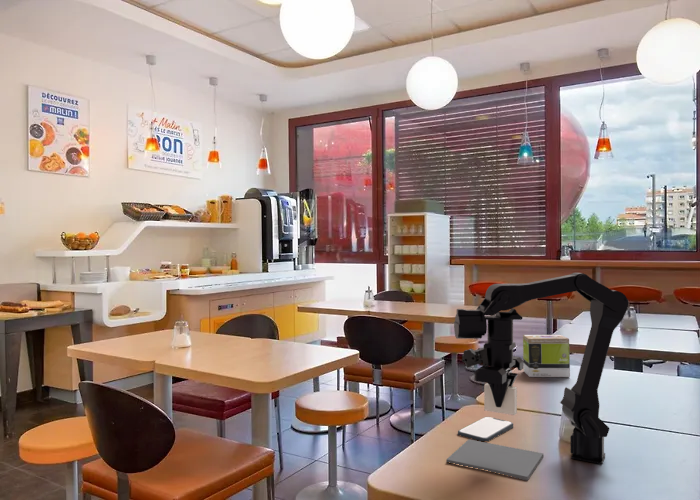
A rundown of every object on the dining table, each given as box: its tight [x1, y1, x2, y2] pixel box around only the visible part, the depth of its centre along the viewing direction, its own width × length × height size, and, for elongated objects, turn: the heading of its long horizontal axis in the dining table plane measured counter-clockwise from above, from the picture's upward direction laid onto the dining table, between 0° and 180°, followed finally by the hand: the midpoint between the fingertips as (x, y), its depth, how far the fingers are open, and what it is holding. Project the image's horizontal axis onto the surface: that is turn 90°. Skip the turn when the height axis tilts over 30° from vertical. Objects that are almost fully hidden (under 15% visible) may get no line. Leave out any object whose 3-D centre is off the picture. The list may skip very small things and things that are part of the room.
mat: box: [445, 438, 544, 481], centre depth 125 cm, size 18×15×1 cm
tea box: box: [522, 334, 571, 378], centre depth 207 cm, size 15×10×15 cm, turn 84°
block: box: [483, 382, 518, 416], centre depth 126 cm, size 7×2×6 cm, turn 58°
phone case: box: [457, 416, 514, 442], centre depth 145 cm, size 9×2×16 cm
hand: (500, 405), depth 126 cm, fingers closed on block, 2 cm apart
